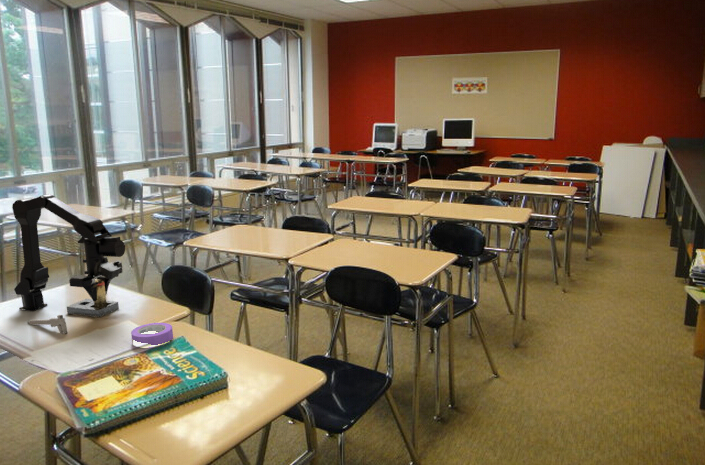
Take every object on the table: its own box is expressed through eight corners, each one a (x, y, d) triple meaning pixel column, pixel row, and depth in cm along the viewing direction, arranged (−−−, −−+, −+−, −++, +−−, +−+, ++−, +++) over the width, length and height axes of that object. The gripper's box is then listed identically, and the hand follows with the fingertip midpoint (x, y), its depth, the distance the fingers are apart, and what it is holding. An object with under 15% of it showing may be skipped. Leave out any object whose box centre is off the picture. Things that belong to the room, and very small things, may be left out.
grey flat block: (67, 313, 186) (66, 306, 185) (87, 304, 194) (86, 298, 193) (100, 317, 181) (99, 310, 181) (118, 308, 190) (118, 301, 189)
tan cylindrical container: (91, 309, 185) (88, 282, 183) (100, 306, 189) (97, 279, 187) (101, 311, 184) (98, 283, 182) (110, 307, 188) (106, 279, 186)
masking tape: (138, 334, 167) (137, 323, 166) (176, 332, 168) (175, 321, 167) (127, 350, 155) (125, 338, 154) (168, 348, 156) (167, 335, 156)
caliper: (67, 334, 168) (65, 315, 167) (64, 335, 167) (61, 316, 166) (30, 322, 178) (28, 305, 177) (27, 324, 177) (24, 306, 176)
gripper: (92, 264, 171) (98, 310, 175) (132, 250, 189) (137, 292, 192) (65, 261, 175) (71, 307, 178) (107, 248, 192) (111, 290, 195)
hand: (99, 298), depth 186 cm, fingers closed on tan cylindrical container, 4 cm apart
